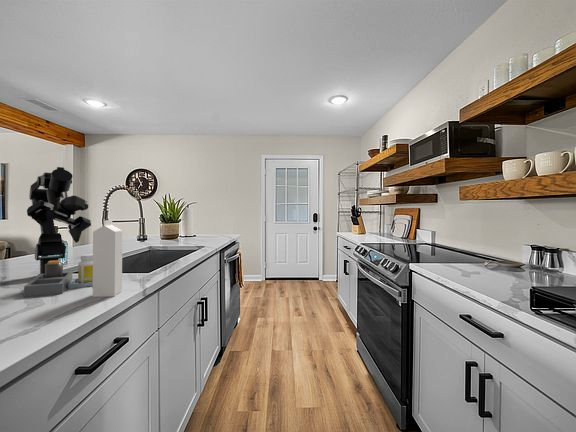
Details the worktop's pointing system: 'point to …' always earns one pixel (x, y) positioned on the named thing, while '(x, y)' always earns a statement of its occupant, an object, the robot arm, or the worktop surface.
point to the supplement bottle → (85, 269)
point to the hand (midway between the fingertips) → (64, 237)
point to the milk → (107, 260)
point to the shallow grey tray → (49, 281)
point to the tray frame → (78, 284)
